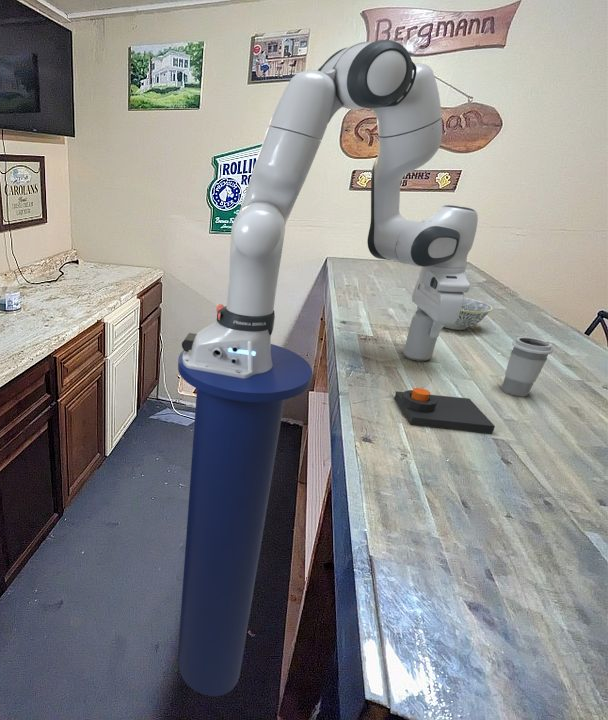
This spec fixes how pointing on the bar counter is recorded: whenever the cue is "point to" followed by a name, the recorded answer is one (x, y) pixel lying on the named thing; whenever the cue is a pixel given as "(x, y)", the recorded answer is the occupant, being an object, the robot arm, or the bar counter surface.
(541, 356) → the cup
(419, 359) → the beverage can
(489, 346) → the bar counter surface
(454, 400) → the black flat block
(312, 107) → the robot arm
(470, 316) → the bowl
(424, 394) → the tare button
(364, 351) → the bar counter surface
